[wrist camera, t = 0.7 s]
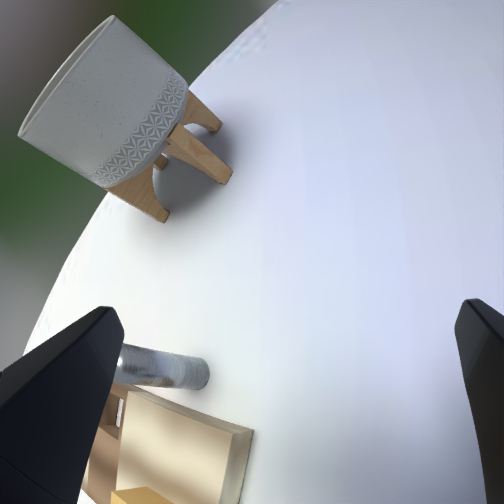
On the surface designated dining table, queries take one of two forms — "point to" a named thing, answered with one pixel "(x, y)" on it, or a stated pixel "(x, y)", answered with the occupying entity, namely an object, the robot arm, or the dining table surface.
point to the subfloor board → (165, 451)
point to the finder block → (137, 496)
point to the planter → (121, 117)
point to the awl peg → (160, 369)
